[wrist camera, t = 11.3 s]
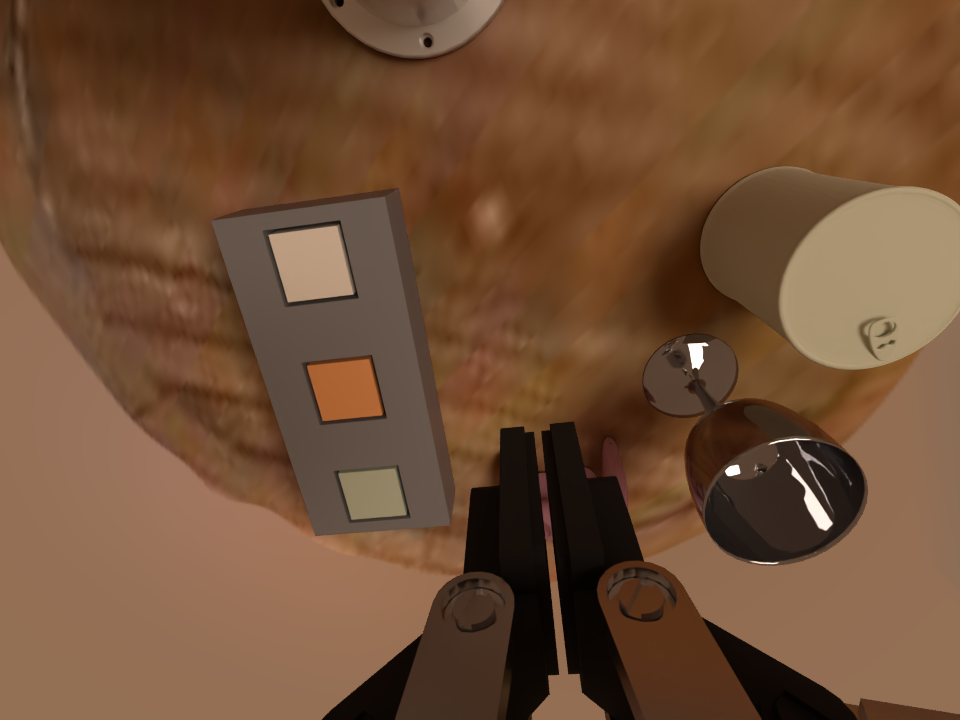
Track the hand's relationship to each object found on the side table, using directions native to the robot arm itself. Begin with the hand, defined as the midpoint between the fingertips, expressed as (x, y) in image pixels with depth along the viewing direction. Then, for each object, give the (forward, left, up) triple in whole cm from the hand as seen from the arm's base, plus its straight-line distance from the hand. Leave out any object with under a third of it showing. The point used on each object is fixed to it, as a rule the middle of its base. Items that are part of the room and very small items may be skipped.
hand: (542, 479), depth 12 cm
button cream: (-1, -13, -26) cm, 29 cm away
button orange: (+8, -13, -26) cm, 30 cm away
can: (+2, +17, -27) cm, 32 cm away
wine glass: (+12, +12, -27) cm, 32 cm away
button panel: (+8, -13, -27) cm, 31 cm away
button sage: (+17, -13, -26) cm, 33 cm away
